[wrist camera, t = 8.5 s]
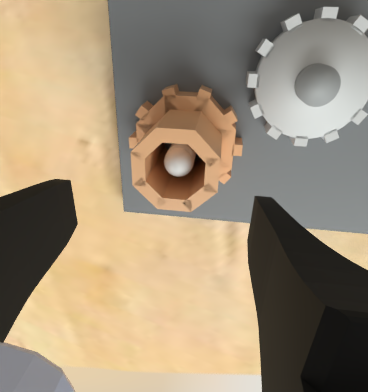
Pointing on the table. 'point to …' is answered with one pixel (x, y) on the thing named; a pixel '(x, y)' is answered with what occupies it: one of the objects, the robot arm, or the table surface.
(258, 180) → the carrier board
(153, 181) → the planet gear
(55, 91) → the table surface
